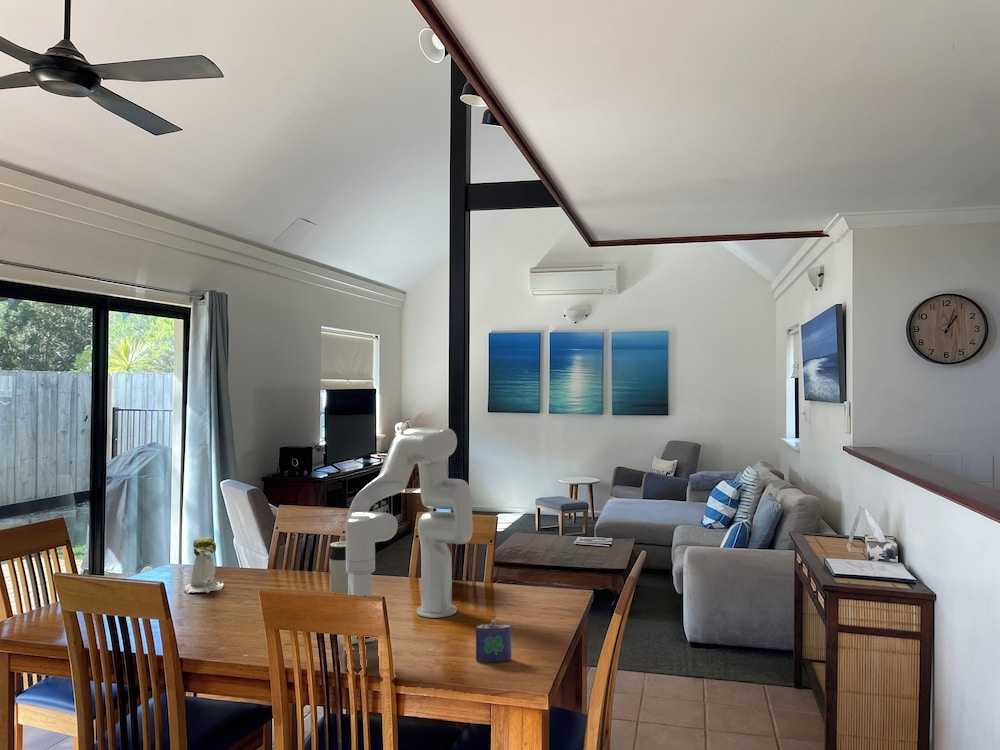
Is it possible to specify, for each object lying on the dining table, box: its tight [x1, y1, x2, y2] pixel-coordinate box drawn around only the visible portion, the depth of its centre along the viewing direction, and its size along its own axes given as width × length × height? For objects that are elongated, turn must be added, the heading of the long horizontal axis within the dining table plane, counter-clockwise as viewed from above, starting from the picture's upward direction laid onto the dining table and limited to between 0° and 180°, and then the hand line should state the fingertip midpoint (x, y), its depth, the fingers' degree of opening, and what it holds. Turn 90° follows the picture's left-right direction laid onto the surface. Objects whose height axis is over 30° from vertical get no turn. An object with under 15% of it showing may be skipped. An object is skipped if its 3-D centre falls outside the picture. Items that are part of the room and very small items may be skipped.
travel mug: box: [329, 540, 349, 593], centre depth 254 cm, size 8×8×18 cm
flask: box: [475, 618, 512, 664], centre depth 193 cm, size 9×3×11 cm, turn 95°
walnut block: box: [337, 637, 380, 671], centre depth 193 cm, size 10×10×5 cm
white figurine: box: [183, 536, 224, 595], centre depth 264 cm, size 12×13×18 cm
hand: (360, 634), depth 193 cm, fingers closed on sage block, 5 cm apart
